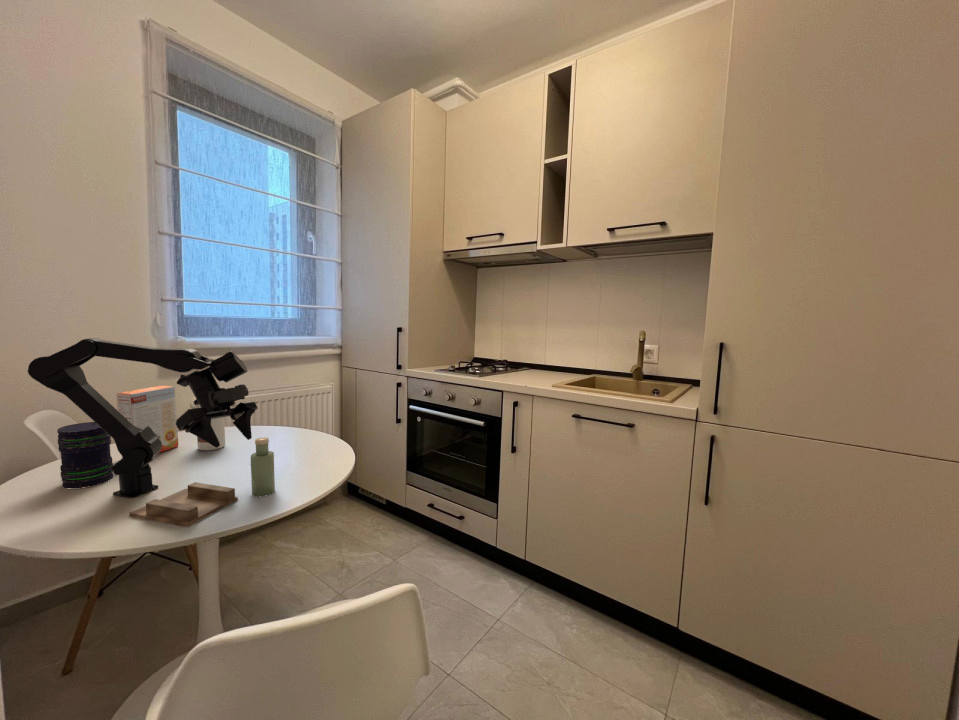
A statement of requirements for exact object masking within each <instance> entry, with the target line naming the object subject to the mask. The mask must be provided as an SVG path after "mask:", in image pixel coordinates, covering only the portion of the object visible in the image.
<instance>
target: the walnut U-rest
mask: <svg viewBox="0 0 959 720" xmlns="http://www.w3.org/2000/svg"><path fill="white" fill-rule="evenodd" d="M237 501H238V496H236V488H234V487H228V486H222V485H221V486H220V485H216V484H209V483H202V482H192V483H190V484H188V485H187V488H184V489H181V490H179V491H177V492H175V493H173V494H169V495H167V496H165V497H163V498H161V499H157V498H155V499H152V500H150V501H147V502H146V503H145V505H144V506H142V507H139V508H137V509H135V510H133V511H130V512H129V517H131V518H136V519H137V518H138V519H143V520H147V521H153V522H158V523H163V524H167V525H168V524H170V525H173V526H179V527H183V528H188V527H189V526H192V525H194V524H196V523H197V522H199V521H200V520H203V519H205V518H206V517H209V516H211V515H212V514H214V513H216V512H218V511H220V510H222V509H223V508H226V507H228V506H230V505H231V504H233V503H235V502H237Z"/></svg>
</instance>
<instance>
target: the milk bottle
mask: <svg viewBox="0 0 959 720" xmlns="http://www.w3.org/2000/svg"><path fill="white" fill-rule="evenodd" d="M198 408H201V407H200V405H199V406H198ZM211 426H212V428H213V430H214V432H215V434H216V436H217V438H218V440H219V443H220V446H219V447H217V448H216V447H214V446H213V445H211V444H209V443H208V442H206V441H205V440H203V439H201V438H199V437H197V436H196V437H197V448H198V450H200V451H214V450H219V449H222V448H224V447H225V446H226V434H225V433H226V430H225V429H226V428H225V426H226V425H225V417H221V418H215V419H211Z"/></svg>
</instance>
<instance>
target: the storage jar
mask: <svg viewBox="0 0 959 720" xmlns="http://www.w3.org/2000/svg"><path fill="white" fill-rule="evenodd" d="M57 444H58V448H57V449H58V452H60V461H61V465H60V467H59V468H60V474H59V475H60V479H61V482H62V485H61V487H62V486H63V487H64V488H63V487H62V488H63V489H65V488H80V489H83V488H82V487H86V488H89V487H88V486H91V487H94V486H93V485H95V486H98V485H97V484H99V485H102V484H105V483H107V482H109V481H111V480H112V479H113V478H114V472H113V470H112V467H113V466H114V463H113V457H112V456H111V444H112V437H111V436H110V435H109V434H108V433H107V432H105V431H104V430H103V429H102V428H101V427H100V426H99V425H98V424H97V423H95V422H94V421H90V422H80V423H74V424H70V425H69V424H68V425H65V426H62V427H59V428H57ZM110 479H111V480H110ZM108 480H109V481H108ZM106 481H107V482H106ZM104 482H105V483H104ZM101 483H102V484H101Z"/></svg>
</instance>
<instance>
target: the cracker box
mask: <svg viewBox="0 0 959 720" xmlns="http://www.w3.org/2000/svg"><path fill="white" fill-rule="evenodd" d="M115 394H116V403H117V405H116V406H117V411H118V412H120V413H121V414H122V415H123V416H124V417H125V418H126V419H127V420H128V421H129V422H130V423H131V424H132V425H134V426H135V427H138V428H140V429H144V428H145V427H147V426H149V427H150V428H151V429H152V431H153V432H154V433H155V434H157V435H159V436H161V437H160V438H159V439H160V441H161V442H162V448H161V450H160V452H159V453H162V452H165V451H168V450H171V449H174V448H177V447H179V429H178V427H177V426H176V421H177V419H178V418H177V403H176V389H175V386H172V385H157V386H151V387H145V388H139V389H133V390H127V391H123V392H117V393H115ZM159 453H158V454H159ZM122 458H123V457H122V456H121V459H122Z"/></svg>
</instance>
